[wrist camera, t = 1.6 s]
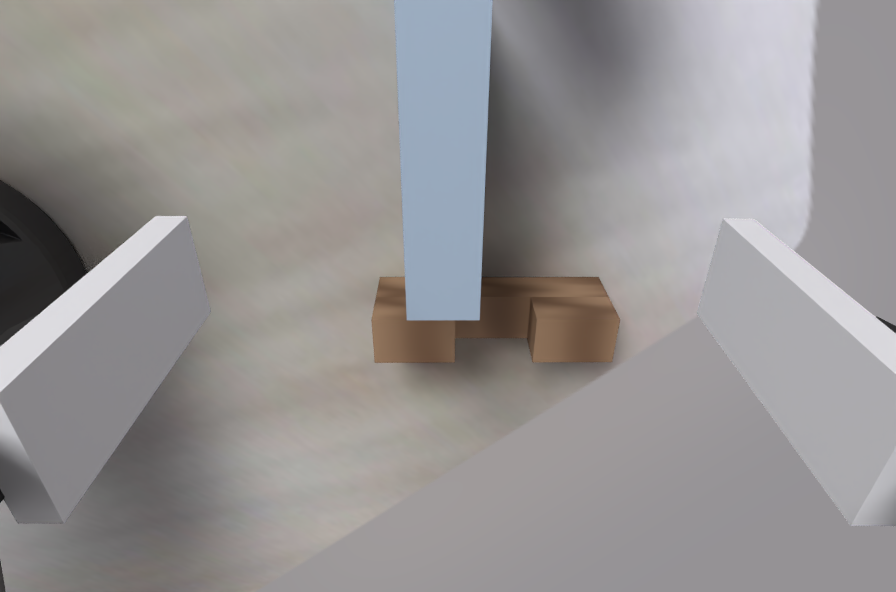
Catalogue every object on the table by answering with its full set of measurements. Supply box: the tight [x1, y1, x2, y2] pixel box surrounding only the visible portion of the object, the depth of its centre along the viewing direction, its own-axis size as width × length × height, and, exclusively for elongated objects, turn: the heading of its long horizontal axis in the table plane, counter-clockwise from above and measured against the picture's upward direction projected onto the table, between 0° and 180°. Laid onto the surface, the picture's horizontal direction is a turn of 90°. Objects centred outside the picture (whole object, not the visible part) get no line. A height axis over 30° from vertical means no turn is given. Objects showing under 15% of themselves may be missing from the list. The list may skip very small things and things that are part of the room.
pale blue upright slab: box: [394, 0, 493, 320], centre depth 25 cm, size 3×12×12 cm, turn 0°
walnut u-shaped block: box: [372, 277, 620, 363], centre depth 34 cm, size 14×3×5 cm, turn 90°
